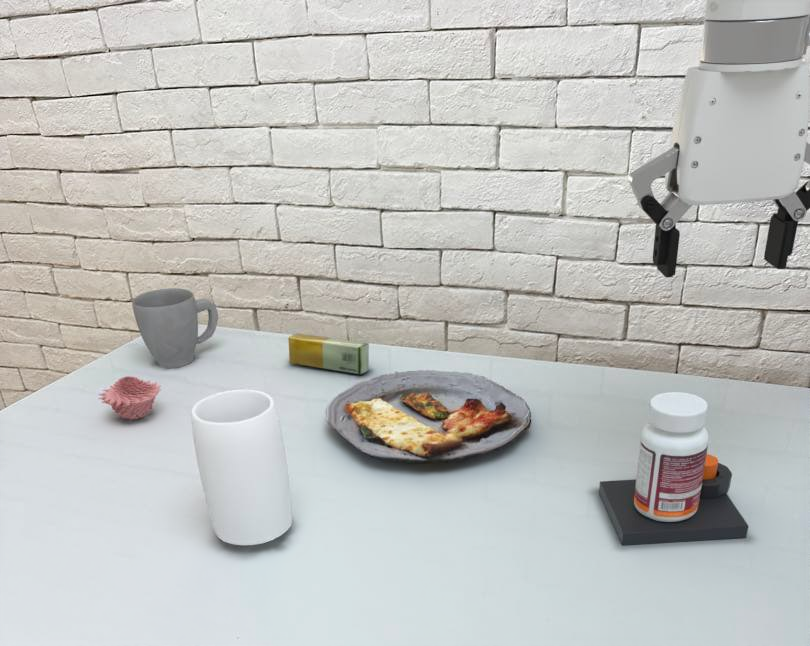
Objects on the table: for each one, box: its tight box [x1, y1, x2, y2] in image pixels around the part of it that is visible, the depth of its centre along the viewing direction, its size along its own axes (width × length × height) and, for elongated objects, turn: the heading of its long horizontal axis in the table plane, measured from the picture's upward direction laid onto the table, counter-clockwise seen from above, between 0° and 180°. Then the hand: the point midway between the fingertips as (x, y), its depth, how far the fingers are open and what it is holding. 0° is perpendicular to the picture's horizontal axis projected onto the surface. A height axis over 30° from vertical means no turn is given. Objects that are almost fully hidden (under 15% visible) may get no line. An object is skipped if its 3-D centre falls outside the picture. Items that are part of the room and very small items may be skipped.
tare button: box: [703, 453, 719, 480], centre depth 87 cm, size 3×3×2 cm
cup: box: [190, 389, 293, 546], centre depth 83 cm, size 8×8×14 cm
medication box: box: [287, 332, 370, 376], centre depth 121 cm, size 12×3×4 cm, turn 65°
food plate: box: [324, 369, 532, 464], centre depth 104 cm, size 25×23×4 cm
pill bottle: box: [634, 391, 710, 522], centre depth 81 cm, size 6×6×11 cm
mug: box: [131, 287, 219, 369], centre depth 126 cm, size 12×9×10 cm
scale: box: [598, 462, 749, 546], centre depth 86 cm, size 13×11×3 cm
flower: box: [98, 375, 162, 421], centre depth 110 cm, size 8×8×6 cm
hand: (719, 268), depth 75 cm, fingers open, 9 cm apart
